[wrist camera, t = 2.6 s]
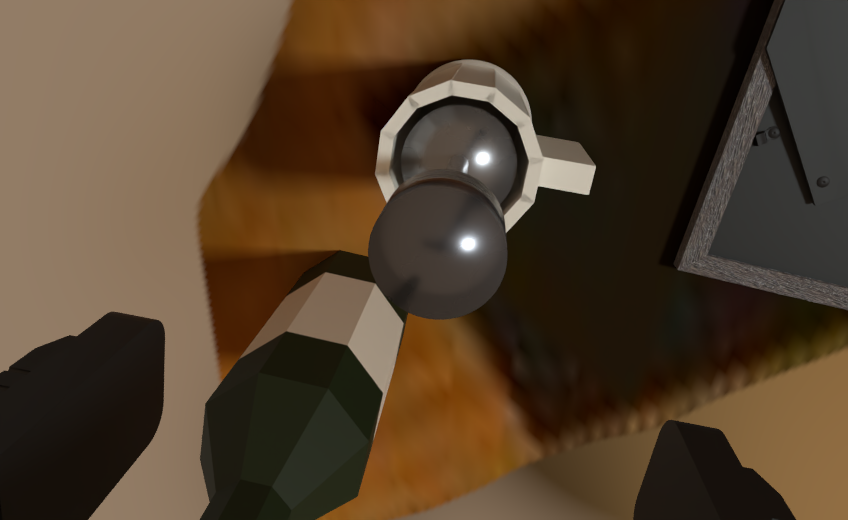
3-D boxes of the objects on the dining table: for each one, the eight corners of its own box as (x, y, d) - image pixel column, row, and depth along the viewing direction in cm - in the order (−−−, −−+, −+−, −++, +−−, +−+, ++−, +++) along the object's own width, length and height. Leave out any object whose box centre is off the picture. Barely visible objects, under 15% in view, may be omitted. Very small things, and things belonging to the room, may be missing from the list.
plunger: (527, 115, 29) (553, 181, 17) (503, 226, 31) (511, 357, 19) (412, 94, 29) (355, 145, 17) (395, 206, 31) (333, 323, 19)
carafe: (583, 78, 39) (623, 102, 27) (553, 201, 42) (578, 274, 30) (416, 49, 40) (383, 60, 27) (398, 173, 42) (360, 234, 30)
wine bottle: (334, 226, 44) (58, 583, 16) (435, 294, 45) (342, 742, 17) (274, 316, 47) (-49, 754, 19) (371, 378, 48) (200, 882, 20)
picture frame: (781, -29, 37) (671, 261, 43) (797, -32, 35) (679, 272, 41) (1014, 24, 37) (868, 308, 43) (1042, 24, 35) (885, 321, 41)
